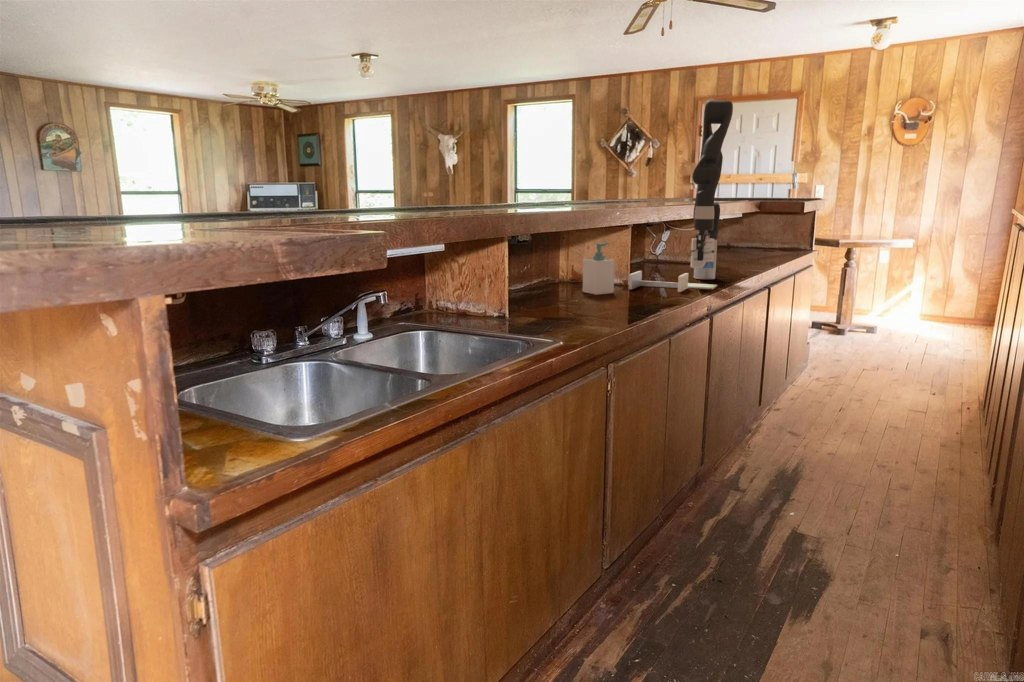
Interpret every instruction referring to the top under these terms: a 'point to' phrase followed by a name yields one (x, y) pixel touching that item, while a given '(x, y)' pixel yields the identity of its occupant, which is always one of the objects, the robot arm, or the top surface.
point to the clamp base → (647, 282)
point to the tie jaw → (683, 282)
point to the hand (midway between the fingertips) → (701, 259)
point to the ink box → (707, 257)
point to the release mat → (701, 286)
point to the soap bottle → (598, 273)
